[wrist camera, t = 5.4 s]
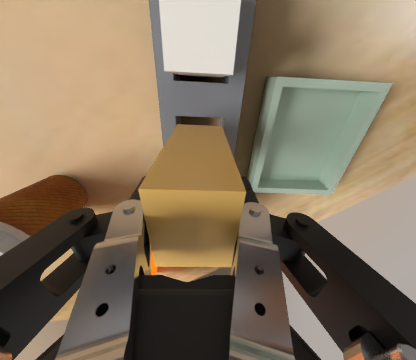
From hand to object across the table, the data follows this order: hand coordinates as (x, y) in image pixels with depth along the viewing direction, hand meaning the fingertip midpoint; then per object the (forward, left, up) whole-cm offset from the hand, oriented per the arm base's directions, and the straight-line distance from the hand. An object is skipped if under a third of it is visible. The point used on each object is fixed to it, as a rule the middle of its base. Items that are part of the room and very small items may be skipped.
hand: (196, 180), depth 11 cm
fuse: (-9, 0, -12) cm, 15 cm away
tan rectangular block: (0, 0, -5) cm, 5 cm away
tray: (0, +13, -12) cm, 17 cm away
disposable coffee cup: (+10, -21, -12) cm, 26 cm away
